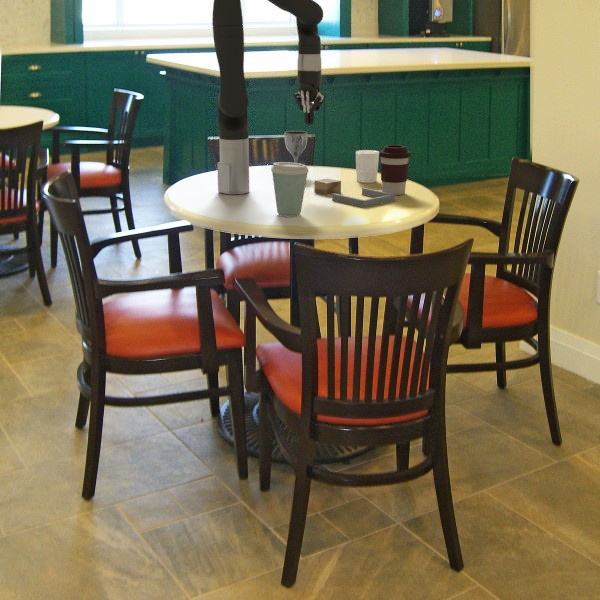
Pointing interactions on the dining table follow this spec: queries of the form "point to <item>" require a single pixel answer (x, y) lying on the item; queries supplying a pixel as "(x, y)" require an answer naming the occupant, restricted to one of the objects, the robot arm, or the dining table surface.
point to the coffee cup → (394, 168)
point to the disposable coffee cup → (289, 187)
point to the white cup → (367, 165)
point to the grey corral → (380, 198)
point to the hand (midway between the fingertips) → (309, 124)
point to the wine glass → (295, 143)
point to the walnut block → (327, 186)
